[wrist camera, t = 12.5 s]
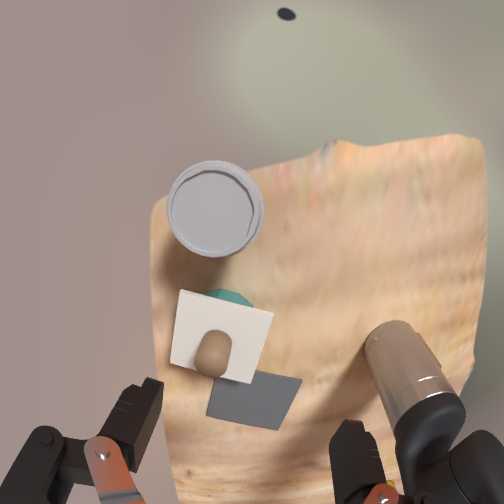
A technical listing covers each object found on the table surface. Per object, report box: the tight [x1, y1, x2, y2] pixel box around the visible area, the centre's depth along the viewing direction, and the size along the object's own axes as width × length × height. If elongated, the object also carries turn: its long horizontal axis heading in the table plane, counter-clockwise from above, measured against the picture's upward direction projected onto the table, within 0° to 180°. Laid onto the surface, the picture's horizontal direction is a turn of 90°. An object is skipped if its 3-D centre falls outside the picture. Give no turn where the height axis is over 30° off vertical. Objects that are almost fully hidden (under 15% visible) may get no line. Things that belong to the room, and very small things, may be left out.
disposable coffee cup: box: [167, 160, 264, 258], centre depth 33 cm, size 10×10×12 cm
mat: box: [206, 370, 302, 430], centre depth 49 cm, size 14×14×1 cm
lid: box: [170, 289, 274, 384], centre depth 37 cm, size 12×12×6 cm
